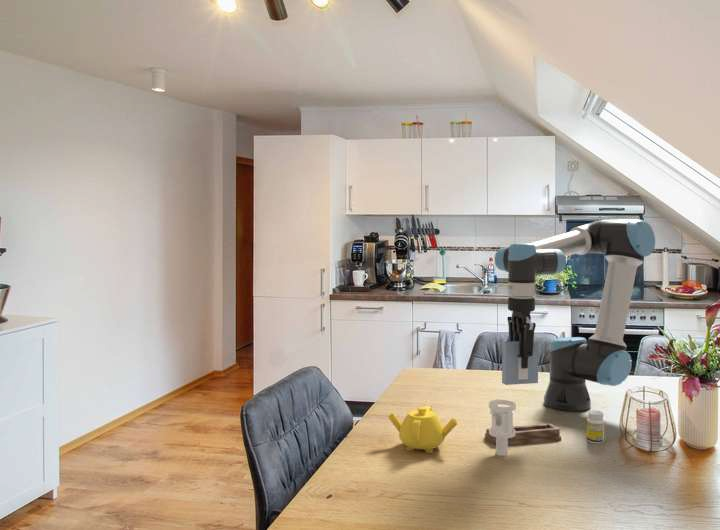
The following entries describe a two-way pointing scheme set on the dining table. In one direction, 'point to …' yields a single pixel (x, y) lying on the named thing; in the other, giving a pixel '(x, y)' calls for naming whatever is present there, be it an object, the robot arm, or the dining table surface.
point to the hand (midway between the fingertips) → (520, 377)
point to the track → (531, 434)
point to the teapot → (422, 429)
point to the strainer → (502, 424)
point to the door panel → (511, 364)
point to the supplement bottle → (595, 427)
